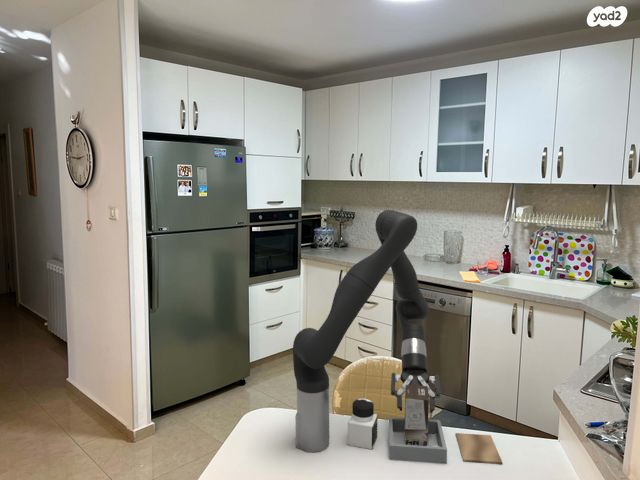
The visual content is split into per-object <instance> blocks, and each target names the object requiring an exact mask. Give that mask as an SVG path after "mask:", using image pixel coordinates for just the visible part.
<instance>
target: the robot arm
mask: <svg viewBox="0 0 640 480" xmlns="http://www.w3.org/2000/svg"><path fill="white" fill-rule="evenodd" d="M417 231H418V221H417V219H416V218H415V217H414V216H412V215H411V214H408V213H404V212H401V211H398V210H392V209H384V210H383V211H381V212H379V214H378V216H377V218H376V219H375V232H376V235H377V237H378V239H379V241H380V244H381V245H380V246H379V247H378V248H377V250H376V251H374V252H373V253H371V254H370V255H368V256H366V257H365V258H363V259H361V260H359V261H358V262H356V263H355V264H353V266H351V267H350V268H349V269H348V270H347V272H346V274H345V275H344V276H343V278H342V279H341V280H340V282H339V284H338V285H337V287H336V290H335V292H334V295H333V298H332V303H331V308H330V311H329V312H328V315H327V317H326V319H325V321H324V322H323V323H322V325H321V326H320V327H319V328H318V330H317V329H315V328H313V327H306V328H303V329H301V330H300V331H298V333H297V334H296V336H295V337H294V340H293V344H292V359H293V360H292V361H293V374H294V378H295V381H296V413H295V417H294V418H295V448H297V449H301V450H302V451H304V452H309V453H318V452H321V451H325V450H326V449H328V447H329V445H330V377H329V375H328V372H327V370H326V368H325V366H327V364H328V363H329V362H330V361H331V359H333V357H334V355H335V354H336V352H337V350H338V348H339V346H340V344H341V342H342V340H343V338H344V337H345V335H346V333H347V332H348V330H349V328H350V327H351V325H352V324H353V322H355V321H354V320H355V319H356V317H358V315H359V313H360V311H361V310H362V309H363V308H364V306H365V304H366V303H367V302H368V300H369V299H370V298H371V296H372V295H373V293H374V292H375V290H376V288H377V287H378V285H379V283H380V282H381V281H382V279H383V278H384V277H385V275H386V274H387V272H388V271H389V270H390V269H391V272H392V276H393V279H394V284H395V288H396V293H397V295H398V297H399V298H401V299H400V300H398V301H397V303H396V305H395V312H396V315H397V318H398V320H399V321H398V322H399V324H400V327H401V328H400V330H401V353H400V354H401V373H400V374H396V372H392V373H391V378H390V379H391V380H390V395H391V396H395V397H396V408H397V409H399V412H402V411H403V395H404V394H405V388H406V385H419V386H427V387H428V395H429V413H431V414H433V412H434V411H435V410H436V399H439V398H441V395H442V389H441V382H440V376H439V375H438V374H435V375H434V376H432V375H431V376H430V375H429V373H428V360H427V347H426V337H425V328H424V326H423V325H422V324H420V323H418V322H417V323H416V322H412V321H420V320H421V321H422V320H425V319H426V318H427V317H428V316H429V313H430V307H429V304H428V301H427V299H426V298H425V297H424V295H423V294H422V292H421V290H420V287H419V281H418V275H417V272H416V270H415V268H414V265H413V264H412V262H411V261H410V259H409V257H408V256H407V254H406V253H405V250H406V249H407V248H408V246H409V245H410V244H411V243H412V241H413V239H415V236H416V234H417ZM399 380H400V382H402V385H401V386H400V388H399V389H398V390H397V389H396V383H398V382H399ZM429 382H431V384H433V385H434V391H435V392H433V390H432V389H431V386H429V384H428V383H429Z"/></svg>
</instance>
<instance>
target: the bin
mask: <svg viewBox="0 0 640 480" xmlns="http://www.w3.org/2000/svg"><path fill="white" fill-rule="evenodd" d="M394 433H405V417H395V416H394V417H393V416H392V417H391V416H389V417H388V452H389V454H388V455H389V456H388V457H389V460H390V461H392V460H393V461H404V462H405V461H406V462H418V463H419V462H421V463H431V464H433V463H434V464H445V465H446V464H448V448H447V444H446V439H445V436H444V431H443V426H442V423H441V420H440V419H428V435H435V436H436V438H437V443H438V446H429V445H427V446H418V445H405V443H404V444H402V443H401V444H400V443H394Z"/></svg>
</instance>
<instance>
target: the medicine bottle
mask: <svg viewBox="0 0 640 480" xmlns="http://www.w3.org/2000/svg"><path fill="white" fill-rule="evenodd" d="M374 406H375V405H374V402H373V401H372V400H370V399H367V398H357V399H355V400H354V401H353V402H352V407H351V408H352V409H351V411H352V414H351V416H350V418H349V420H348V422H347V445H348V446H351V447H355V448H356V447H358V448H361V449H368V450H373V449H374V446H375V443H376V440H377V438H378V414H377V413H374V411H375V409H374Z"/></svg>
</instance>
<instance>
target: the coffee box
mask: <svg viewBox="0 0 640 480" xmlns="http://www.w3.org/2000/svg"><path fill="white" fill-rule="evenodd" d="M404 394H405V396H404V418H405V432H404V445H418V446H429V445H428V441H429V440H428V439H429V438H428V437H429V434H428V420H429V413H430V406H429V399H430V398H429V395H428V387H427V386H419V385H406V388H405V393H404Z"/></svg>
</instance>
